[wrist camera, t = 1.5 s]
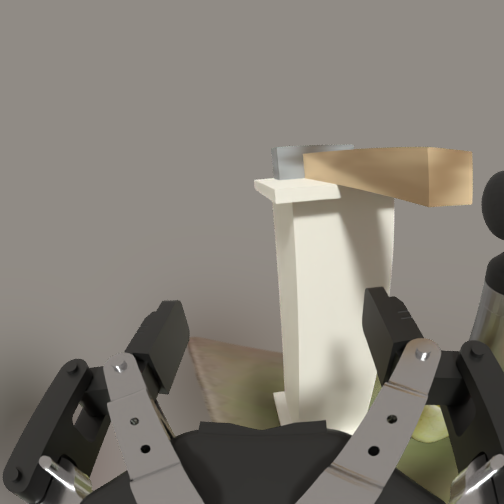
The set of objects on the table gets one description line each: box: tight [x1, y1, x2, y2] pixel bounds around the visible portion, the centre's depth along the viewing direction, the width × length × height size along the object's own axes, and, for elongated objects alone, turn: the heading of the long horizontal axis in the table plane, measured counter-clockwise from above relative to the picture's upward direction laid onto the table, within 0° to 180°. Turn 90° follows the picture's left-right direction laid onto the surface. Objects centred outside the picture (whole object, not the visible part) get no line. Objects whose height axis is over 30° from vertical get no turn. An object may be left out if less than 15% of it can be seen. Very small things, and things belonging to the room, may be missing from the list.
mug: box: [411, 405, 449, 443], centre depth 26 cm, size 12×10×10 cm
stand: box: [254, 178, 394, 435], centre depth 30 cm, size 12×12×32 cm
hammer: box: [271, 145, 473, 207], centre depth 19 cm, size 8×21×3 cm, turn 6°
